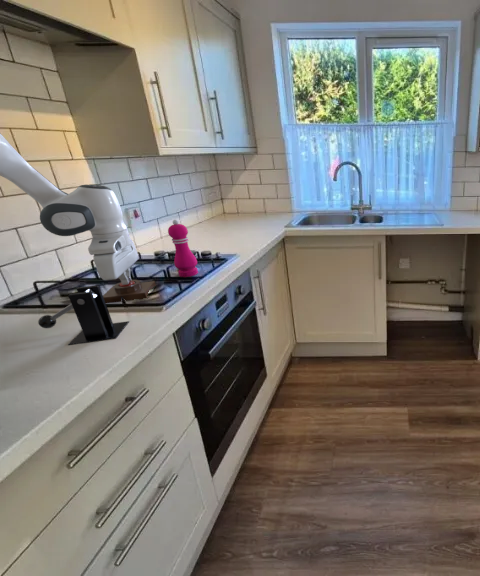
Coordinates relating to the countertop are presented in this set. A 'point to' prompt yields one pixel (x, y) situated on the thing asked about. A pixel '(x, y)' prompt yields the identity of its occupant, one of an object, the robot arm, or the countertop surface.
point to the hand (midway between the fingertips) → (127, 283)
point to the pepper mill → (182, 250)
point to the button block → (128, 291)
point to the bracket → (93, 317)
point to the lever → (56, 315)
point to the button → (127, 284)
